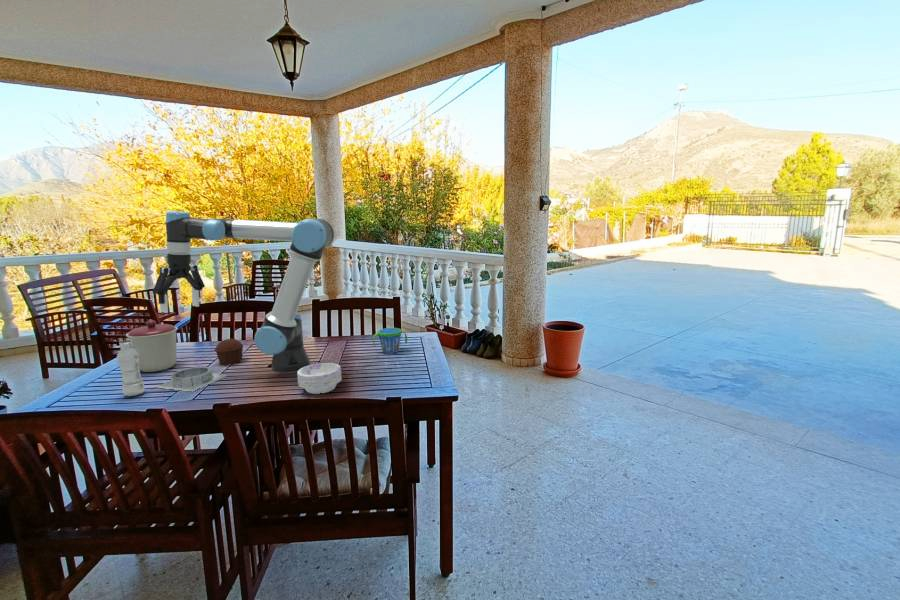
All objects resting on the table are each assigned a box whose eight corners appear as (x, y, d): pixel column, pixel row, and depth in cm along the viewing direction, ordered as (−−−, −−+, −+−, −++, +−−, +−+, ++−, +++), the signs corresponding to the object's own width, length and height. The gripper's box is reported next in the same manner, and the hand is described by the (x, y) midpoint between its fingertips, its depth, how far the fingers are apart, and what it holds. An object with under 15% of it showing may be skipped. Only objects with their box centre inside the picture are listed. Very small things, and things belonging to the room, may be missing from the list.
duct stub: (225, 376, 176) (224, 367, 175) (192, 392, 161) (191, 381, 160) (193, 373, 181) (192, 364, 180) (158, 388, 166) (156, 378, 165)
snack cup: (373, 356, 197) (372, 334, 195) (373, 349, 207) (372, 328, 205) (408, 354, 199) (407, 332, 197) (406, 347, 210) (406, 326, 208)
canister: (184, 369, 186) (177, 320, 182) (132, 379, 176) (123, 327, 172) (180, 358, 201) (174, 313, 197) (132, 367, 190) (124, 319, 186)
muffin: (219, 359, 198) (216, 337, 197) (246, 356, 202) (243, 335, 200) (214, 367, 187) (211, 345, 185) (242, 364, 191) (240, 342, 189)
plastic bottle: (134, 399, 156) (125, 344, 152) (118, 398, 157) (109, 344, 154) (150, 392, 162) (141, 339, 158) (134, 391, 164) (125, 338, 160)
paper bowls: (317, 379, 171) (315, 359, 169) (350, 384, 165) (349, 364, 163) (289, 394, 157) (287, 373, 155) (324, 400, 151) (322, 378, 150)
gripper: (199, 250, 177) (200, 302, 181) (138, 254, 154) (141, 313, 158) (214, 252, 175) (214, 305, 179) (155, 256, 152) (157, 316, 156)
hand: (180, 309), depth 168 cm, fingers open, 13 cm apart
